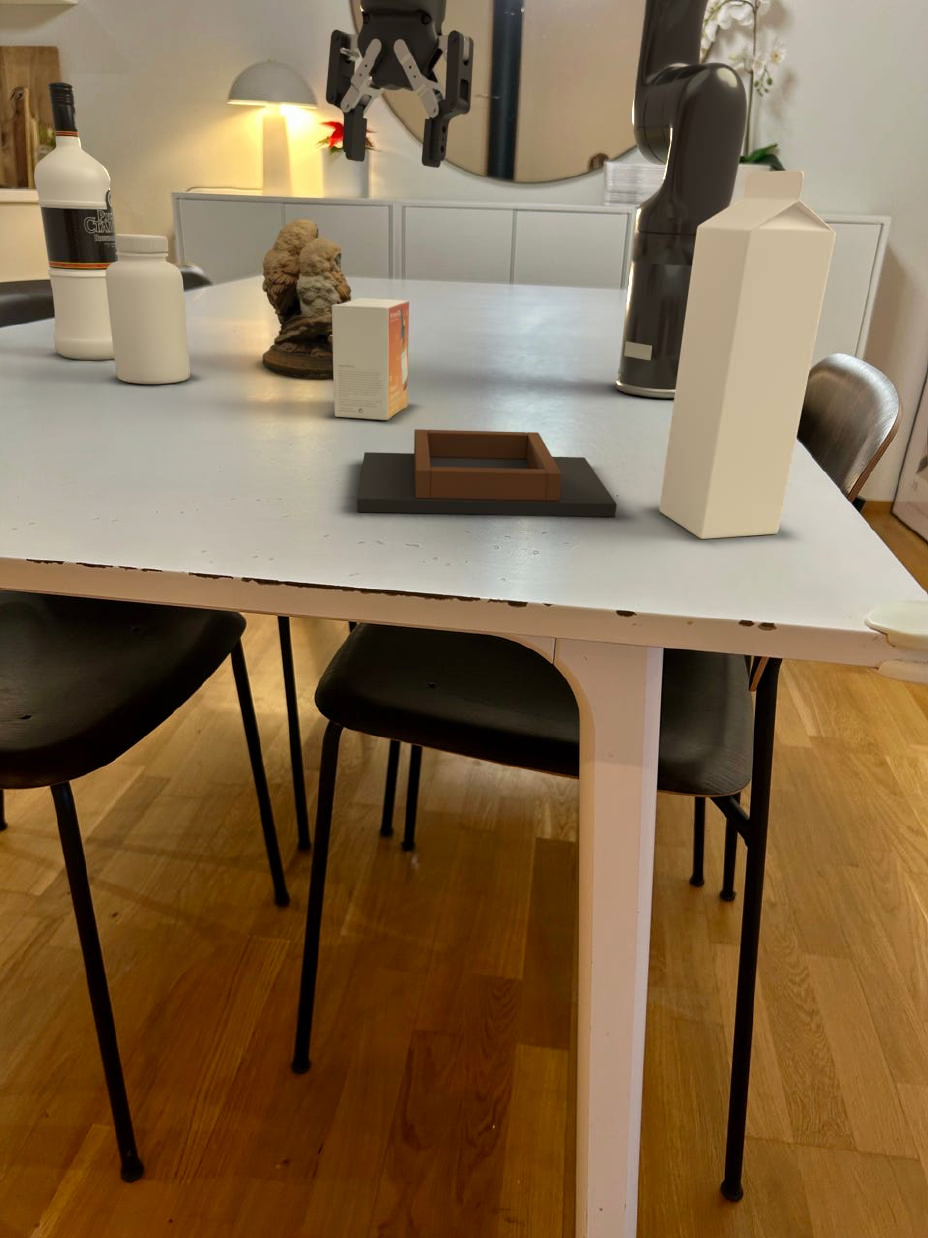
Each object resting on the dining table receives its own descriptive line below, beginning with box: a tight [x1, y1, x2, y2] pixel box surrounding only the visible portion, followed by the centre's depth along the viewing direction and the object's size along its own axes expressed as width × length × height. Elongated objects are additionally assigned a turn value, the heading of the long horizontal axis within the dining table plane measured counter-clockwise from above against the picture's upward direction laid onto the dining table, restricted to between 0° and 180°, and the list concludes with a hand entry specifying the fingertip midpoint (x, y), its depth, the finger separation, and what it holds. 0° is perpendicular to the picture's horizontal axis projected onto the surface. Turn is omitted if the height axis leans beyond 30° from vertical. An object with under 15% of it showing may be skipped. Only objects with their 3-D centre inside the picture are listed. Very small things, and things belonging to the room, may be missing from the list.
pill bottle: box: [105, 233, 191, 385], centre depth 99 cm, size 8×8×15 cm
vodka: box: [33, 81, 119, 361], centre depth 108 cm, size 9×9×30 cm
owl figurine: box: [261, 218, 352, 378], centre depth 109 cm, size 18×12×17 cm, turn 28°
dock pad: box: [356, 428, 617, 518], centre depth 68 cm, size 18×12×3 cm
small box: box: [332, 297, 410, 421], centre depth 89 cm, size 8×6×10 cm
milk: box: [658, 170, 837, 540], centre depth 58 cm, size 6×6×22 cm
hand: (391, 163), depth 84 cm, fingers open, 8 cm apart
